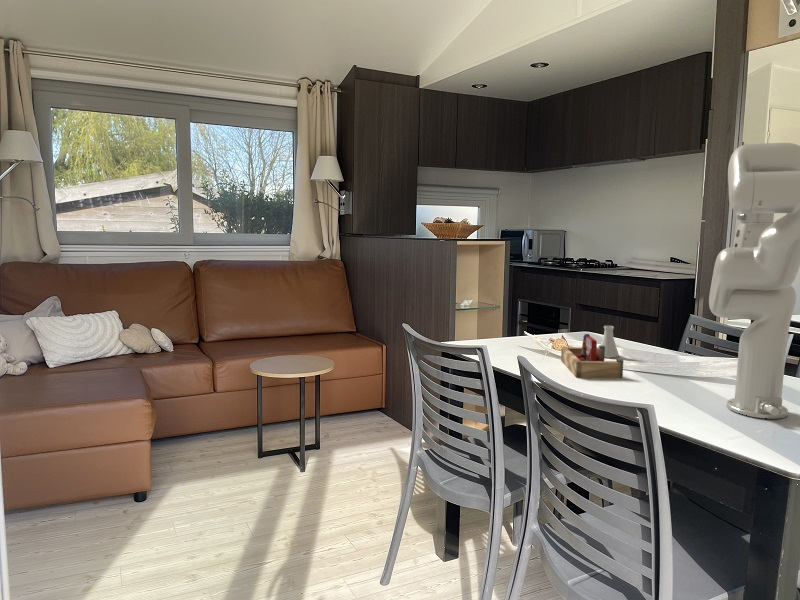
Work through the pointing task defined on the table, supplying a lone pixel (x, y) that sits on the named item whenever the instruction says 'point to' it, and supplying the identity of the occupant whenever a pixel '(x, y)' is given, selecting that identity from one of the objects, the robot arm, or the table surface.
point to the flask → (609, 343)
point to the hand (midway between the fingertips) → (751, 286)
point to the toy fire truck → (589, 350)
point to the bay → (591, 364)
